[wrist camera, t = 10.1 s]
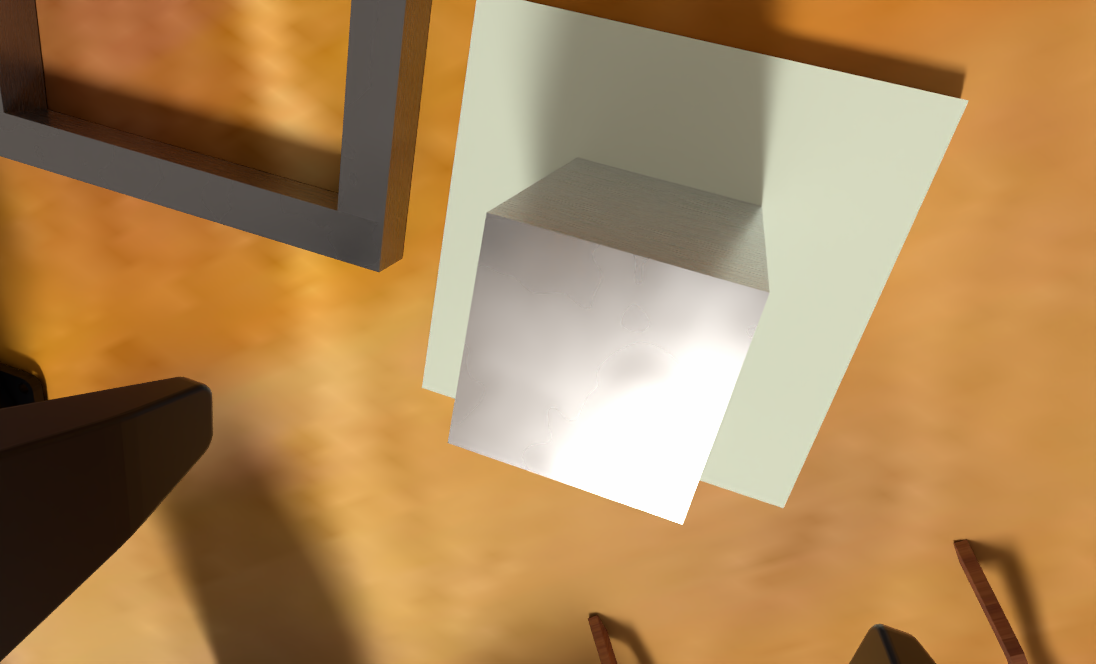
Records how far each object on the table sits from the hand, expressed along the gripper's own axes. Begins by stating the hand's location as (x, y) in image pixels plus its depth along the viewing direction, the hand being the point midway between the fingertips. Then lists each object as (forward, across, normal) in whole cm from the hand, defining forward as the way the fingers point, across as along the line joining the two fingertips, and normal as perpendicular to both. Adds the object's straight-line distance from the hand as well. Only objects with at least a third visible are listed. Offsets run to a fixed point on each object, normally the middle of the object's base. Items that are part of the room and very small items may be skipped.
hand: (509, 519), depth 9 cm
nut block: (+11, 0, 0) cm, 11 cm away
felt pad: (+12, 0, 0) cm, 12 cm away
